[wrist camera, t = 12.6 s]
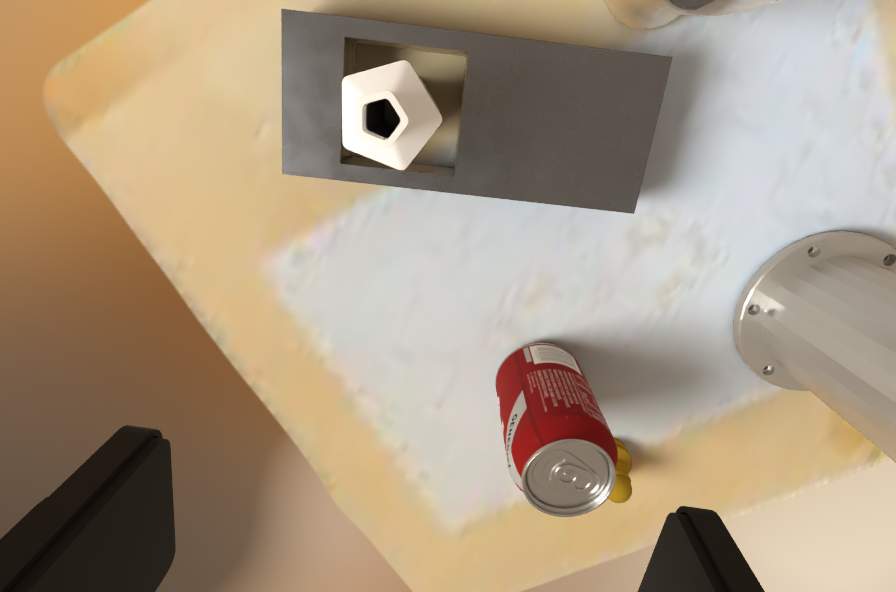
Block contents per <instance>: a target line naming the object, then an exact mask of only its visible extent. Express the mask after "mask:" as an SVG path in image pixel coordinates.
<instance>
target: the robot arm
mask: <svg viewBox="0 0 896 592" xmlns="http://www.w3.org/2000/svg"><path fill="white" fill-rule="evenodd" d="M733 328H734V339H735V343H736V347H737V350H738V352H739V353H740V355H741V357H742V359H743V361H744V362H745V363H746V364H747V365H748V366H749V367H750V368H751V369H752V370H753V371H754V372H755V373H756V374H757V375H758V376H759V377H761V378H762V379H764V380H766V381H768V382H769V383H771V384H773V385H775V386H779V387H782V388H786V389H790V390H800V391H808V390H809V391H811V392H812V393H813V394H814V395H815V396H817V397H818V398H819V399H820V400H821V401H823V402H824V403H825V404H826V405H827V406H829V407H830V408H831V409H832V410H833V411H835V412H836V413H837V414H838V415H839V416H841V417H842V418H843V419H844V420H845V421H847V422H848V423H849V424H850V425H851V426H853V427H854V428H855V429H856V430H857V431H858V432H860V433H861V434H862V435H863V436H864V437H866V438H867V439H868V440H869V441H870V442H872V443H873V444H874V445H875V446H876V447H878V448H879V449H880V450H881V451H882V452H884V453H885V454H886V455H887V456H888V457H890V458H891V459H892V460H893V461H894V462H896V249H895V248H894V247H892V246H891V245H890V244H888V243H886V242H884V241H881V240H879V239H877V238H875V237H871V236H868V235H865V234H862V233H857V232H848V231H836V232H825V233H821V234H817V235H813V236H809V237H806V238H804V239H802V240H799V241H797V242H795V243H792V244H791V245H789V246H787V247H786V248H784V249H782V250H781V251H779V252H778V253H776V254H775V255H774V256H772V257H771V258H770V259H769V260H768V261H767V262H765V263H764V264H763V265H762V266H761V267H760V268H759V269H758V271H757V272H756V273H755V274H754V275H753V276H752V278H751V279H750V280H749V282H748V284H747V285H746V287H745V289H744V290H743V292H742V294H741V296H740V299H739V301H738V304H737V307H736V311H735V316H734V321H733ZM170 449H171V448H170V442H169V441H168V440H167V439H163V438H162V434H161V432H160V431H159V430H156V429H150V428H142V427H136V426H129V425H127V426H123V427H122V428H120V429H119V430H118V431H117V432H116V433H115V434H114V435H113V436H112V437H111V438H110V439H109V440H108V441H107V442H105V443H104V444H103V445H102V446H101V447H100V448H99V449H98V450H97V451H96V452H95V453H94V454H93V455H92V456H91V457H90V458H89V459H88V460H87V461H86V462H85V463H84V464H83V465H82V466H80V467H79V468H78V469H77V470H76V471H75V472H74V473H73V474H72V475H71V476H70V477H69V478H68V479H67V480H66V481H65V482H64V483H63V484H62V485H61V486H60V487H58V488H57V489H56V490H55V492H53V493H52V494H51V495H50V496H49V497H47V498H45V499H44V500H43V501H41V502H40V503H39V504H37V505H36V506H35V507H34V508H33V509H32V510H31V511H30V512H29V513H28V514H27V515H26V516H25V517H24V518H23V519H21V521H19V522H18V523H17V524H16V525H15V526H14V527H13V528H12V529H11V530H10V531H9V532H8V533H7V534H6V535H5V536H4V537H3V538H1V539H0V592H155V591H156V589H157V588H158V586H159V585H160V583H161V581H162V580H163V578H164V577H165V575H166V573H167V572H168V570H169V568H170V566H171V564H172V562H173V558H174V554H175V528H174V508H173V489H172V471H171V470H172V468H171V450H170ZM638 592H765V591H764V590H763V588H762V587H761V585H760V583H759V582H758V580H757V578H756V577H755V575H754V573H753V572H752V570H751V568H750V567H749V565H748V563H747V562H746V560H745V558H744V557H743V555H742V553H741V552H740V550H739V548H738V547H737V545H736V543H735V542H734V540H733V538H732V537H731V535H730V533H729V532H728V530H727V529H726V527H725V525H724V523H723V522H722V520H721V518H720V517H719V516H718V514H717V513H716V512H714V511H713V510H707V509H701V508H694V507H687V506H681V507H679V508H678V509H677V511H676V513H670V514H669V515H668V516H667V518H666V521H665V523H664V526H663V528H662V531H661V533H660V536H659V539H658V541H657V544H656V546H655V549H654V552H653V554H652V557H651V559H650V562H649V564H648V567H647V570H646V572H645V574H644V577H643V580H642V582H641V585H640V587H639V590H638Z"/></svg>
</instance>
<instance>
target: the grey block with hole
mask: <svg viewBox="0 0 896 592" xmlns="http://www.w3.org/2000/svg"><path fill="white" fill-rule="evenodd" d="M356 43H361V44H369V45H377V46H385V47H394V48H402V49H410V50H418V51H426V52H434V53H443V54H451V55H459V56H466V65H465V74H464V83H463V91H462V100H461V109H460V118H459V127H458V135H457V144H456V153H455V162H454V168H450V167H441V166H432V165H423V164H415V163H410V164H409V165H408V167H407V168H406V169H405V170H398V169H395V168H393V167H390V166H388V165H385V164H383V163H380V162H378V161H375V160H373V159H370V158H362V157H354V156H352V151H350V150H348V149H346V148H345V147H344V145H343V137H342V80H343V79H344V77H346V76H348V75H352V74H355V65H356ZM671 61H672V57H666V56H658V55H649V54H641V53H633V52H625V51H617V50H609V49H601V48H593V47H585V46H577V45H569V44H561V43H553V42H545V41H537V40H529V39H521V38H513V37H505V36H497V35H489V34H481V33H473V32H464V31H456V30H448V29H440V28H432V27H424V26H416V25H408V24H400V23H392V22H384V21H376V20H368V19H360V18H352V17H344V16H336V15H328V14H320V13H312V12H304V11H296V10H287V9H282V174H288V175H297V176H305V177H314V178H323V179H332V180H341V181H350V182H359V183H367V184H376V185H385V186H394V187H403V188H412V189H421V190H430V191H438V192H447V193H456V194H465V195H474V196H483V197H492V198H501V199H509V200H518V201H527V202H536V203H545V204H554V205H563V206H571V207H580V208H589V209H598V210H607V211H616V212H625V213H634V212H635V208H636V204H637V199H638V195H639V191H640V187H641V183H642V179H643V175H644V171H645V167H646V163H647V159H648V155H649V150H650V146H651V142H652V138H653V134H654V130H655V126H656V122H657V118H658V114H659V110H660V106H661V101H662V97H663V93H664V89H665V85H666V81H667V77H668V73H669V69H670V65H671Z"/></svg>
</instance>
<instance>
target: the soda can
mask: <svg viewBox="0 0 896 592" xmlns="http://www.w3.org/2000/svg"><path fill="white" fill-rule="evenodd" d="M496 391H497V397H498V404H499V410H500V417H501V423H502V429H503V436H504V442H505V449H506V455H507V461H508V468H509V472H510V475H511V477H512V479H513V481H514V482H515V484H516V485H517V486H518V488H519V489H520V490H521V491H522V492H524V494H525V496H526V498H527V499H528V501H529V502H530V503H531V504H532V505H533V506H534V507H535V508H537V509H538V510H540V511H542V512H544V513H546V514H549V515H553V516H558V517H572V516H578V515H582V514H585V513H588V512H590V511H592V510H594V509H596V508H597V507H599V506H600V505H601V504H603V503H604V502H605V501H606V500H607V499H608V497H609V496H610V494H611V493H612V491H613V489H614V486H615V482H616V470H615V469H616V466H617V460H618V451H617V446H616V443H615V440H614V438H613V436H612V434H611V432H610V429H609V427H608V425H607V423H606V421H605V419H604V417H603V415H602V413H601V410H600V408H599V406H598V404H597V402H596V400H595V398H594V396H593V394H592V391H591V389H590V387H589V385H588V383H587V381H586V379H585V377H584V375H583V372H582V370H581V368H580V366H579V364H578V362H577V361H576V359H575V358H574V357H573V356H572V354H570V353H569V352H568V351H567V350H565V349H563V348H562V347H559V346H557V345H554V344H549V343H533V344H529V345H525V346H523V347H520V348H518V349H516V350H515V351H513V352H512V353H511V354H509V355H508V356H507V357H506V358H505V359H504V361H503V362H502V364H501V365H500V367H499V369H498V372H497V375H496Z"/></svg>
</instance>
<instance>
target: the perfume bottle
mask: <svg viewBox="0 0 896 592" xmlns="http://www.w3.org/2000/svg"><path fill="white" fill-rule="evenodd" d="M441 122H442V116H441V114H440V113H439V107H438V105H437V104H436V102H435V100H434V99H433V97H432V95H431V94H430V92H429V90H428V89H427V87H426V85H425V84H424V82H423V81H422V79H421V78H420V77H418V76H417V74H416V73H415V71H414V69H413V68H412V66H411V65H410V63H409V62H408V61H405V60H402V61H398V62H394V63H391V64H387V65H384V66H380V67H377V68H373V69H370V70H366V71H363V72H359V73H356V74H352V75H348V76H346V77H344V79H343V80H342V137H343V145H344V147H345V148H346V149H348V150H350V151H353V152H355V153H358V154H360V155H363V156H365V157H368V158H370V159H373V160H375V161H378V162H380V163H383V164H385V165H388V166H390V167H393V168H395V169H398V170H405V169H406V168H407V167H408V165H409V164H410V163H411V162H412V160H413V159H414V158H415V156H416V155H417V154H418V153H419V151H420V150H421V149H422V148H423V146H424V145H425V144H426V142H427V141H428V140H429V139H430V137H431V136H432V135H433V133H434V132H435V131H436V130H437V128H438V127H439V126H440V124H441Z"/></svg>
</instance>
